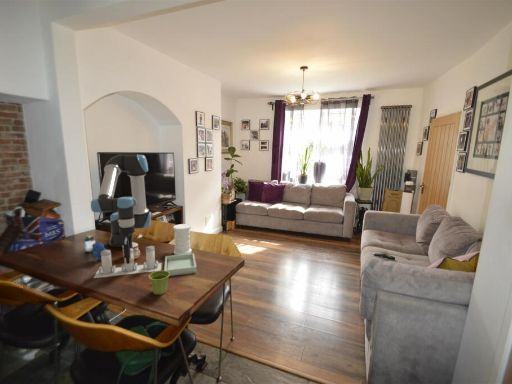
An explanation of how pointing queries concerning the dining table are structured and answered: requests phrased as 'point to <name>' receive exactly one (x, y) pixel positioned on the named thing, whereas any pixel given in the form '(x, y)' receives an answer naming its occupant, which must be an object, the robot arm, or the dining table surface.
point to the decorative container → (182, 239)
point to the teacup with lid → (135, 249)
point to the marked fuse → (131, 261)
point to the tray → (180, 264)
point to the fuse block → (109, 271)
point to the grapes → (97, 250)
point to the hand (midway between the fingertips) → (129, 266)
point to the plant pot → (159, 281)
